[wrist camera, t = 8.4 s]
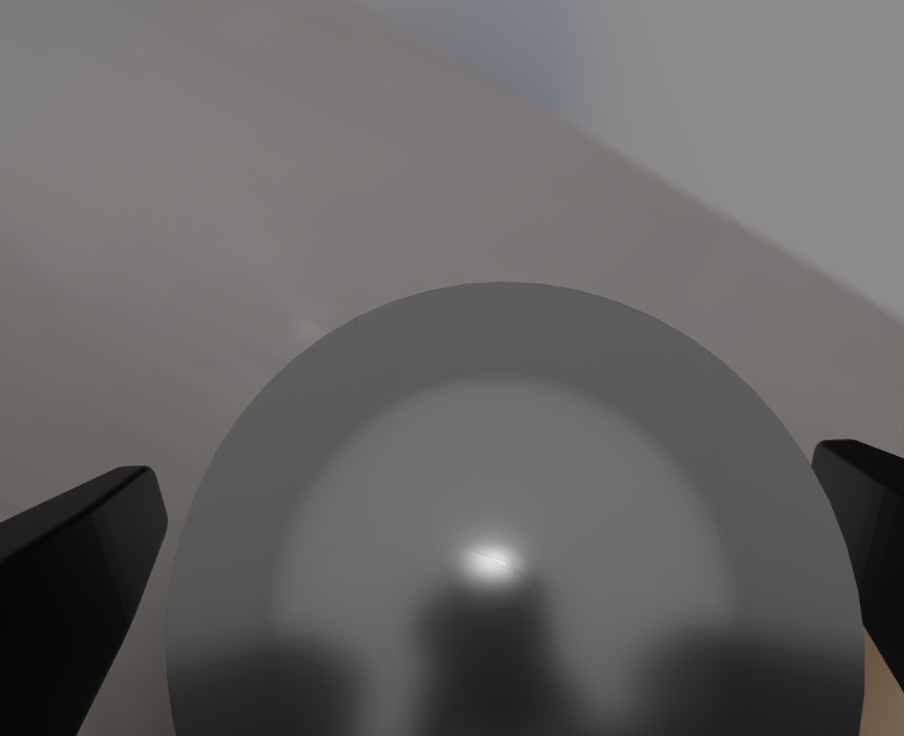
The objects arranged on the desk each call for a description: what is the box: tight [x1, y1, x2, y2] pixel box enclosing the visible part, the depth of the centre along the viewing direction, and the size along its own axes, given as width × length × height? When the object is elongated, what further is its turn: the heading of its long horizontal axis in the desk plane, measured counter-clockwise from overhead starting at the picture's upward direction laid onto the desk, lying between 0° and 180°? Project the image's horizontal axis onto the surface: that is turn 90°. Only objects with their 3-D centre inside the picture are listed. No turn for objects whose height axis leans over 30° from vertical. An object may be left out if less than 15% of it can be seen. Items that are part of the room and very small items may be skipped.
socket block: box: [859, 624, 904, 736], centre depth 14 cm, size 6×6×2 cm
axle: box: [166, 282, 865, 736], centre depth 9 cm, size 3×3×13 cm
